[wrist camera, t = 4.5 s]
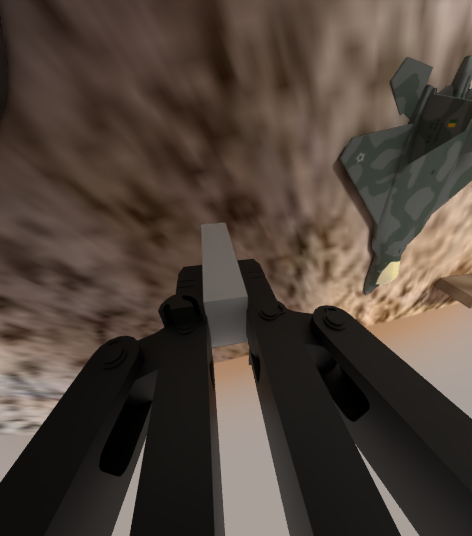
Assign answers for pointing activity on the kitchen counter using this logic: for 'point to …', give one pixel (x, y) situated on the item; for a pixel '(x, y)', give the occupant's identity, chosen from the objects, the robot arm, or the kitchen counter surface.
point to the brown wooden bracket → (457, 288)
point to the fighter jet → (412, 162)
